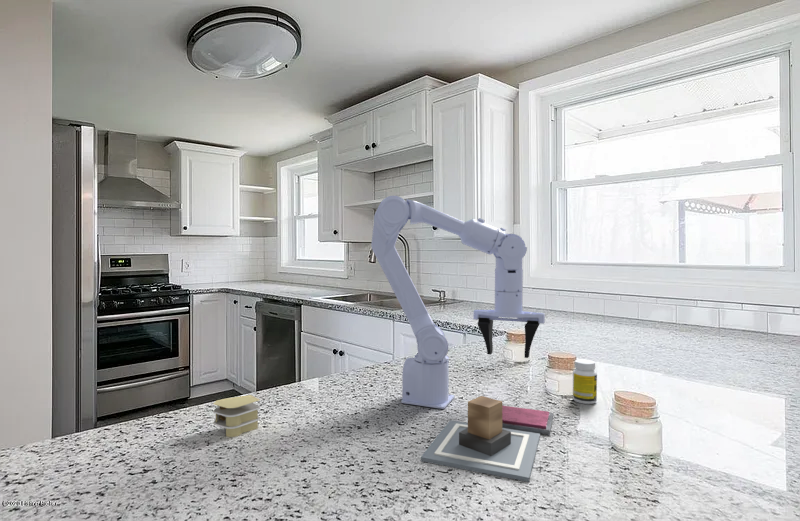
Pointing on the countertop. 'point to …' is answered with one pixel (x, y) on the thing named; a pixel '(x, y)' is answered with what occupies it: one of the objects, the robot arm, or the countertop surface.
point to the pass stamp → (485, 427)
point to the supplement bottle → (585, 382)
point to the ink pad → (527, 420)
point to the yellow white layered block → (237, 414)
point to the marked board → (504, 463)
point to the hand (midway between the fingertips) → (508, 355)
